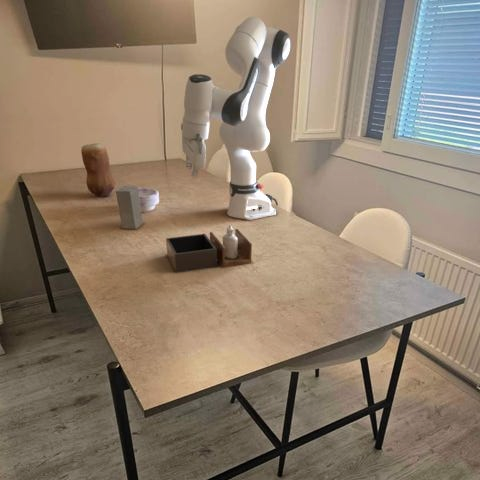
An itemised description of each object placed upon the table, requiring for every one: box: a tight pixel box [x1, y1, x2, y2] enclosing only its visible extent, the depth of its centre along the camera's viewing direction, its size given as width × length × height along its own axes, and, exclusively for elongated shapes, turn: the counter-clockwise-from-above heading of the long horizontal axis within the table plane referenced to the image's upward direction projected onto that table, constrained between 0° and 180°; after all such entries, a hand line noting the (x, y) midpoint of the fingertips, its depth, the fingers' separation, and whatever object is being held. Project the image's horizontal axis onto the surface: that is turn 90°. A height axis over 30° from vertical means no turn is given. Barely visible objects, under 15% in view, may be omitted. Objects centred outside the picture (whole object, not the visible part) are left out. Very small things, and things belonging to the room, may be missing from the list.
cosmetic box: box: [115, 185, 144, 230], centre depth 176 cm, size 8×7×16 cm
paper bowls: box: [138, 187, 160, 213], centre depth 196 cm, size 15×15×8 cm
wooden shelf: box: [209, 228, 253, 268], centre depth 154 cm, size 11×15×7 cm
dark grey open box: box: [165, 233, 218, 273], centre depth 151 cm, size 15×15×7 cm
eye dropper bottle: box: [222, 224, 239, 260], centre depth 153 cm, size 4×6×12 cm
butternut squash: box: [80, 142, 116, 198], centre depth 207 cm, size 14×13×25 cm
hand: (191, 172), depth 148 cm, fingers open, 8 cm apart
